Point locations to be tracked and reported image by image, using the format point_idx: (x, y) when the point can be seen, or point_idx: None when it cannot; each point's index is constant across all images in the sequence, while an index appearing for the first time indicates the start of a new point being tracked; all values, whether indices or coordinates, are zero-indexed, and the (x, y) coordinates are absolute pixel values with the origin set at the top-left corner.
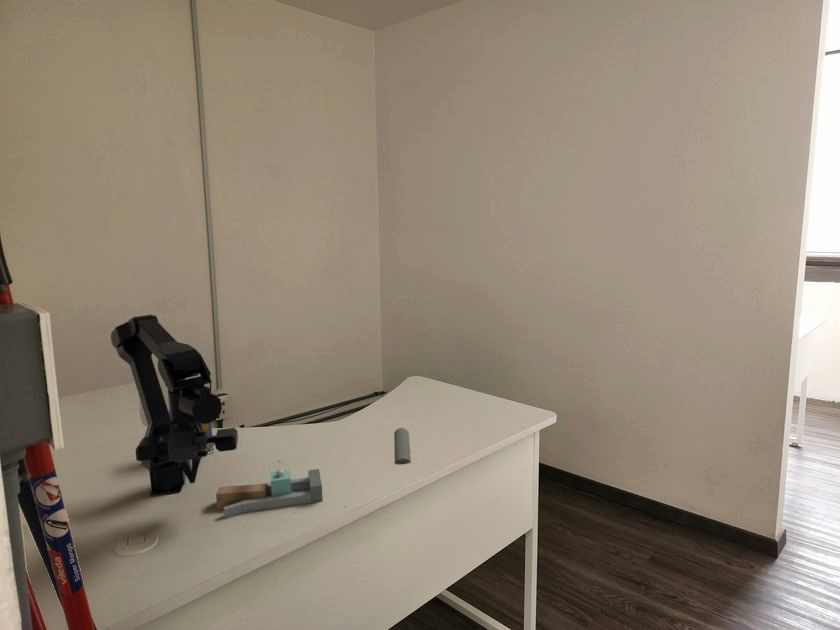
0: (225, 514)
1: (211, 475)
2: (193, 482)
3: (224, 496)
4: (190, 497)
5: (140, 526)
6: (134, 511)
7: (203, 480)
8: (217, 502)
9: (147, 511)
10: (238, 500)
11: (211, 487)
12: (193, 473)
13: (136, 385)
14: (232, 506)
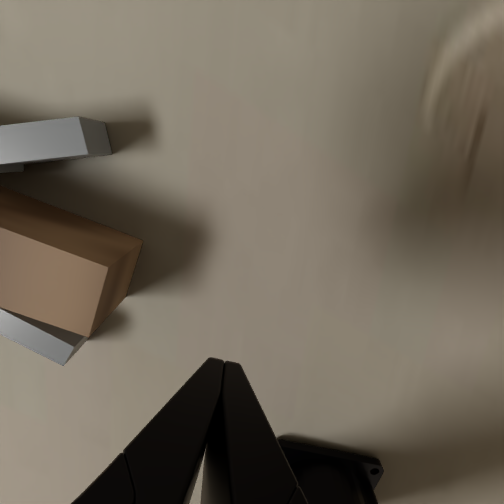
0: (97, 125)
1: None
2: (215, 359)
3: (71, 243)
4: None
5: (465, 256)
6: (453, 383)
7: None
8: (128, 249)
9: (411, 360)
10: (17, 208)
11: None
12: (191, 419)
13: None
14: (37, 133)
